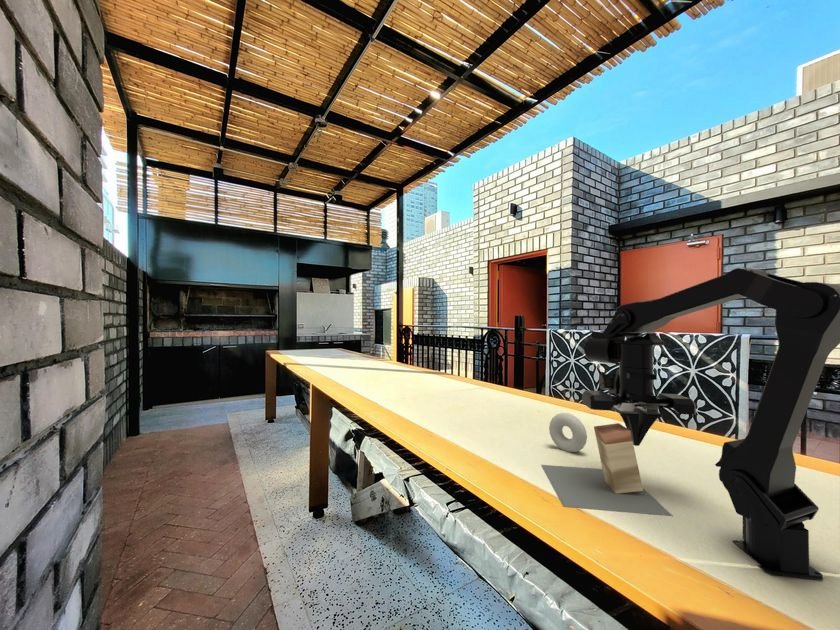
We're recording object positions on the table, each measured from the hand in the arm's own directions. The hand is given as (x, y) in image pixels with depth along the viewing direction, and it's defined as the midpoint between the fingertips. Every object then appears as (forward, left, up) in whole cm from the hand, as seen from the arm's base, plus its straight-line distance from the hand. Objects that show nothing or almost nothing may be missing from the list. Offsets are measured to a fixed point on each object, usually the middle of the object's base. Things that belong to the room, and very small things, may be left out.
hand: (635, 445), depth 67 cm
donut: (+20, +7, -10) cm, 23 cm away
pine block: (0, +2, -8) cm, 9 cm away
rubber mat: (0, +7, -9) cm, 12 cm away
